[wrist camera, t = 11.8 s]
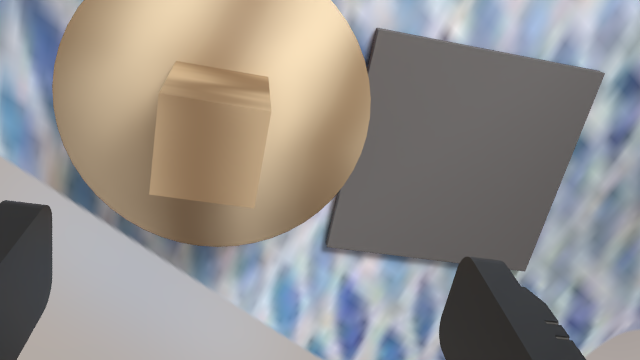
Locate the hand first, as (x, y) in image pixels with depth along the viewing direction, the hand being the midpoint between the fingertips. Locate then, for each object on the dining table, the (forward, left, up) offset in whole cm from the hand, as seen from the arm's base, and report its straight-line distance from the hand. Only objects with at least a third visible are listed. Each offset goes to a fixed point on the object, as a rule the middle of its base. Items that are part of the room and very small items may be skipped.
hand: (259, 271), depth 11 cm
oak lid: (+2, +2, -17) cm, 17 cm away
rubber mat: (-13, +5, -23) cm, 27 cm away
